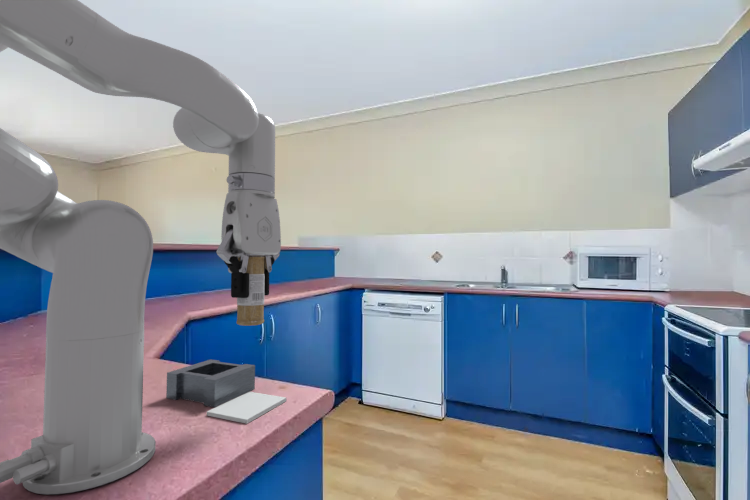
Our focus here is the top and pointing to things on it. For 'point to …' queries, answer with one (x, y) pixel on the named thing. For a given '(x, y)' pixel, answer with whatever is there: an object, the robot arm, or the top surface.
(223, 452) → the top surface
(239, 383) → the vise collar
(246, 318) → the sprinkles bottle
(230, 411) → the rubber pad
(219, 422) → the top surface
